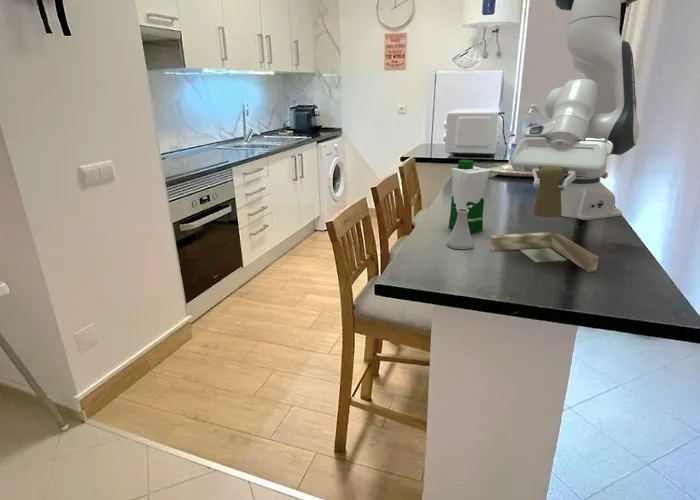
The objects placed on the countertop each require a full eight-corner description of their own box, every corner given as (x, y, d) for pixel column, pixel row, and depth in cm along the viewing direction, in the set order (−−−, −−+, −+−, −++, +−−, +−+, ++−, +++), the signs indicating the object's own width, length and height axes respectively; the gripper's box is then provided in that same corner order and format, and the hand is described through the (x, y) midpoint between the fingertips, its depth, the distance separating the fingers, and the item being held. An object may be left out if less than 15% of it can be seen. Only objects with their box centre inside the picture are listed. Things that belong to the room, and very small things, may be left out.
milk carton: (466, 223, 137) (472, 158, 130) (487, 231, 130) (494, 162, 122) (443, 228, 134) (448, 160, 126) (464, 236, 126) (470, 166, 119)
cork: (564, 217, 100) (570, 168, 96) (536, 217, 101) (540, 169, 98) (558, 210, 106) (562, 163, 102) (531, 210, 107) (534, 164, 103)
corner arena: (553, 244, 120) (555, 231, 119) (596, 271, 103) (598, 257, 102) (489, 247, 118) (490, 235, 117) (521, 276, 101) (524, 262, 100)
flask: (443, 241, 123) (445, 206, 120) (468, 240, 124) (472, 205, 120) (450, 250, 116) (453, 214, 113) (477, 249, 117) (481, 213, 113)
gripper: (615, 148, 101) (600, 200, 98) (523, 144, 113) (507, 190, 109) (615, 130, 96) (600, 184, 93) (518, 128, 108) (502, 176, 104)
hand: (549, 188), depth 101 cm, fingers closed on cork, 4 cm apart
